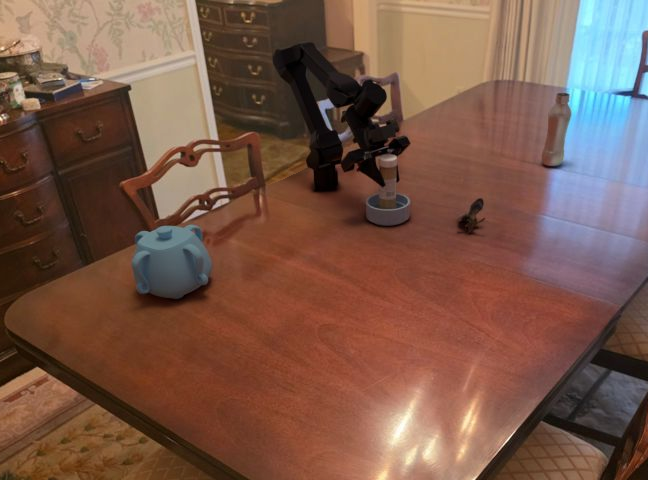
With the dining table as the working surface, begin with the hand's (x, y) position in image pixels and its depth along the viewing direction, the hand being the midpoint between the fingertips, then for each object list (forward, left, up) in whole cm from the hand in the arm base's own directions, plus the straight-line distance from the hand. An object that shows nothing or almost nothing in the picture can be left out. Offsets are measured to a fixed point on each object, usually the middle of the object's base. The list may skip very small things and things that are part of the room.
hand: (391, 184), depth 153 cm
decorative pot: (-50, -29, -9) cm, 58 cm away
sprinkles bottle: (-1, +1, -7) cm, 7 cm away
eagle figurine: (+19, -7, -10) cm, 23 cm away
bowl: (-1, +1, -9) cm, 9 cm away
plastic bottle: (+51, +32, -9) cm, 61 cm away
